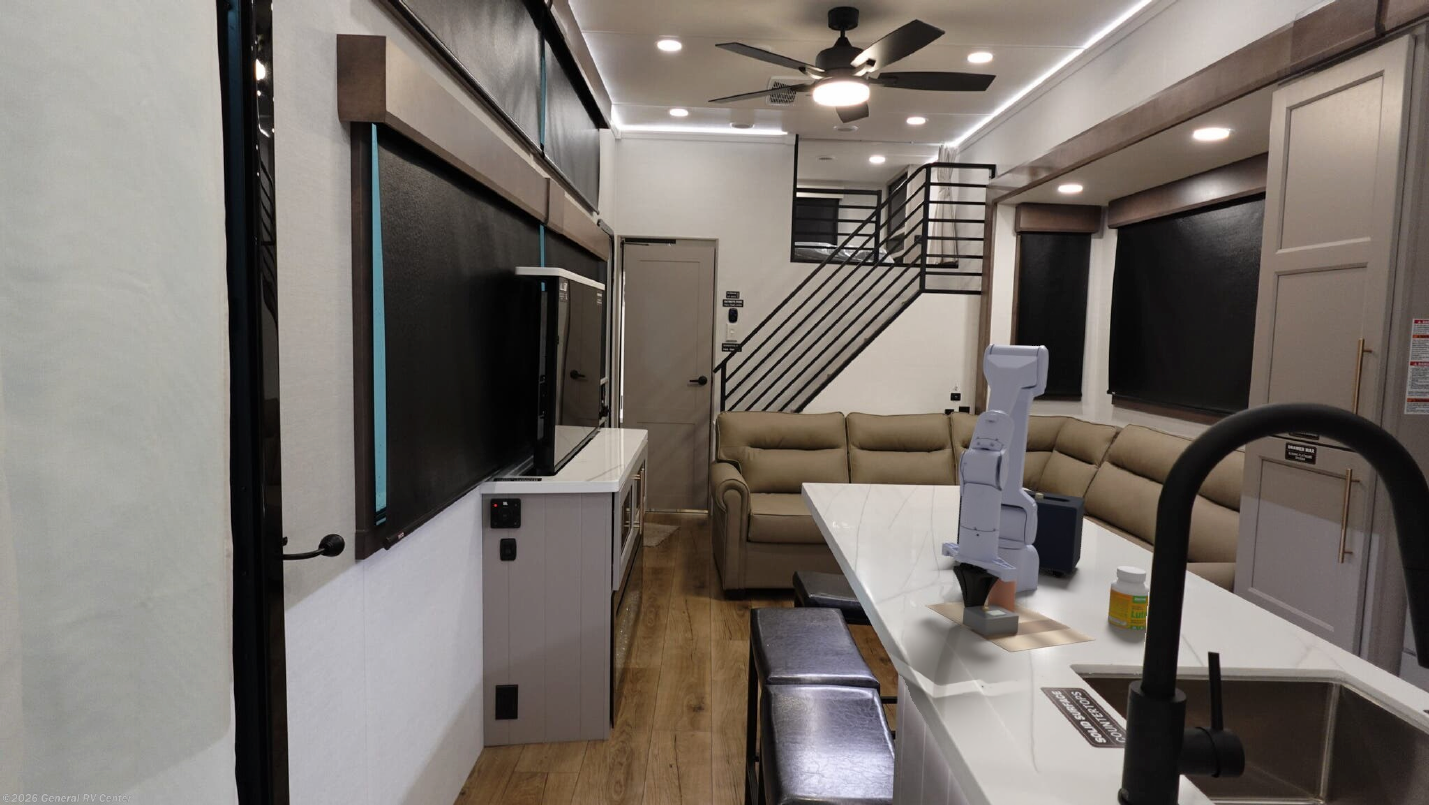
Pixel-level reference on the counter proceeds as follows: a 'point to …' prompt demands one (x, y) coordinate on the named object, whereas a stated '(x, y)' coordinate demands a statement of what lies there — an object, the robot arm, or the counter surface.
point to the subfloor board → (1020, 628)
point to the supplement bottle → (1129, 598)
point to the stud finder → (990, 620)
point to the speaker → (1055, 530)
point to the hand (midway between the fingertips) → (973, 613)
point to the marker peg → (1003, 594)
